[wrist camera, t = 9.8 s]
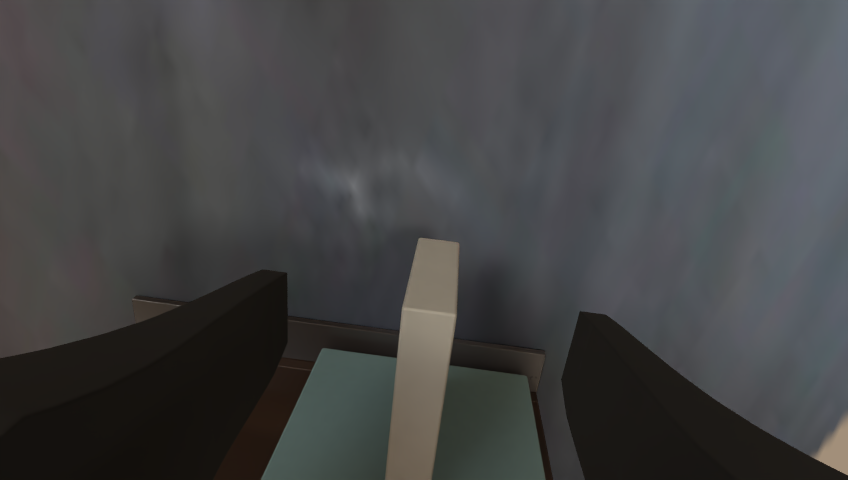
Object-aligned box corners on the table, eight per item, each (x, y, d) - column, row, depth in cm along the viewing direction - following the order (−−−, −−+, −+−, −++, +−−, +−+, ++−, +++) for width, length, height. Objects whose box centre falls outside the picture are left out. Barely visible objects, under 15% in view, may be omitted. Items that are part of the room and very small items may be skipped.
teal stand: (523, 391, 18) (549, 549, 13) (321, 363, 18) (257, 506, 13) (561, 231, 16) (615, 341, 10) (325, 201, 16) (247, 292, 10)
